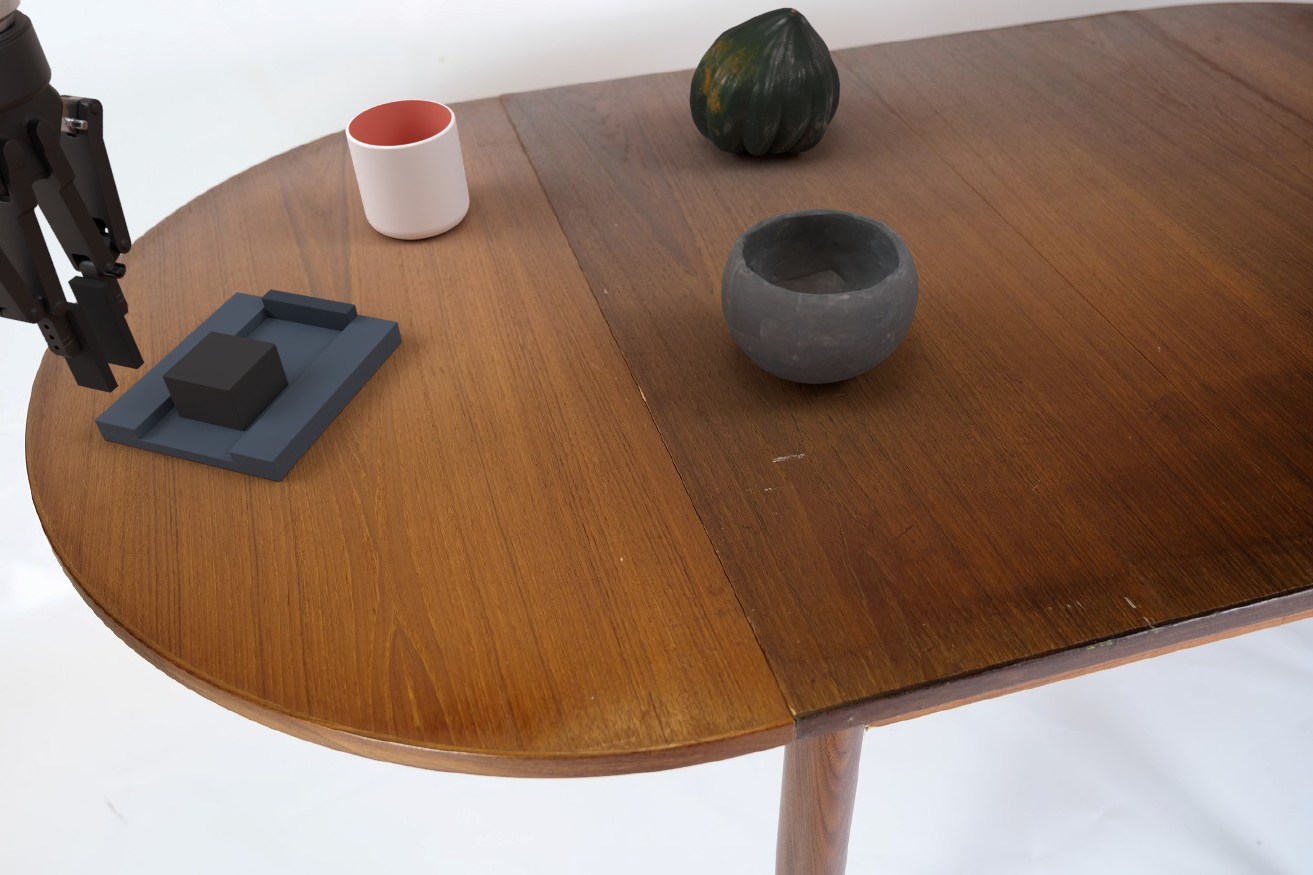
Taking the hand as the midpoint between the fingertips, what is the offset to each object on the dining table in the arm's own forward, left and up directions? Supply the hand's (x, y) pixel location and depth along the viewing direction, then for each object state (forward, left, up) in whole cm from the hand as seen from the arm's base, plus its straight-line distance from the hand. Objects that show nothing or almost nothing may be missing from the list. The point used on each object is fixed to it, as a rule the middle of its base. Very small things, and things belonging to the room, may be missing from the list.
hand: (111, 373), depth 76 cm
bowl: (+29, -41, -11) cm, 51 cm away
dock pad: (+12, 0, -10) cm, 16 cm away
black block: (+9, 0, -9) cm, 13 cm away
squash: (+64, -27, -11) cm, 70 cm away
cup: (+40, +1, -11) cm, 41 cm away
